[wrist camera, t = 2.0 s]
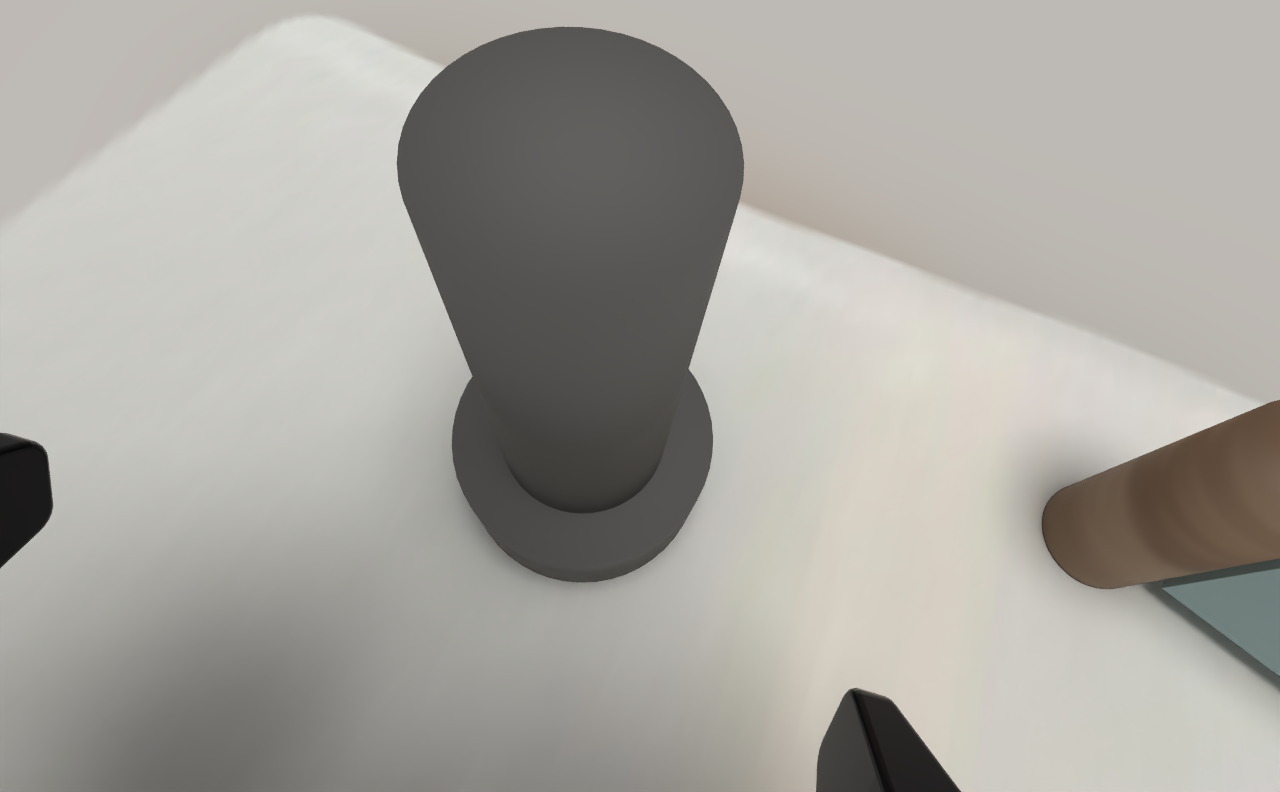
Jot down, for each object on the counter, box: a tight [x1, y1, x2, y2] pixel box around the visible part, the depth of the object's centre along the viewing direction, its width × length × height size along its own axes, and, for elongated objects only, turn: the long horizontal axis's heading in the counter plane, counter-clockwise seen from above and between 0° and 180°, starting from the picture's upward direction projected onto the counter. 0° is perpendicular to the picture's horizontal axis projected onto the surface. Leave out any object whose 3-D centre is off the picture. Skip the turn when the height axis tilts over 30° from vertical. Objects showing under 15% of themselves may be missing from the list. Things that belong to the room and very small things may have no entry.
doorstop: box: [397, 27, 744, 582], centre depth 14 cm, size 6×6×13 cm
